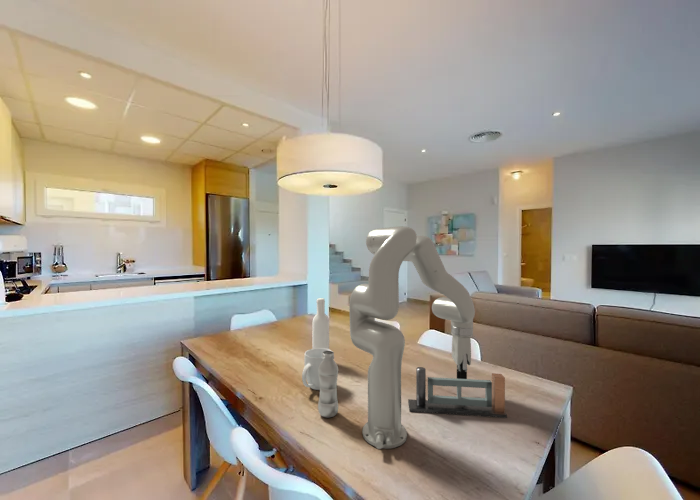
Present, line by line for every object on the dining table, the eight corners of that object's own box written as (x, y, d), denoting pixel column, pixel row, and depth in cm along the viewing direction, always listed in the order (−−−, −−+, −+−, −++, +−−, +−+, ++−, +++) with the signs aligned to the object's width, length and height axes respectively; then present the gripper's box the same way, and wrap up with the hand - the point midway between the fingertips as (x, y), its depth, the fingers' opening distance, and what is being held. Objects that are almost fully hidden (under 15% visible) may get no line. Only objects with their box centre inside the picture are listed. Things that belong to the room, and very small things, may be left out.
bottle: (311, 360, 141) (311, 297, 141) (327, 359, 143) (327, 297, 143) (313, 367, 133) (313, 300, 133) (330, 365, 135) (330, 299, 135)
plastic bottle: (327, 407, 99) (327, 347, 99) (342, 414, 95) (342, 352, 95) (313, 415, 94) (313, 353, 94) (329, 423, 90) (328, 357, 90)
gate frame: (506, 417, 93) (506, 376, 93) (409, 411, 96) (409, 371, 96) (499, 407, 99) (499, 368, 99) (408, 402, 102) (408, 364, 102)
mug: (315, 400, 104) (315, 363, 104) (291, 393, 109) (291, 357, 109) (338, 383, 117) (338, 350, 117) (315, 377, 122) (315, 346, 122)
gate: (428, 403, 98) (428, 379, 98) (427, 400, 99) (427, 377, 99) (491, 407, 95) (491, 382, 95) (490, 404, 97) (490, 380, 97)
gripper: (447, 325, 116) (447, 372, 116) (455, 336, 101) (455, 390, 101) (467, 325, 115) (467, 373, 115) (478, 337, 100) (478, 391, 100)
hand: (461, 380), depth 108 cm, fingers closed
